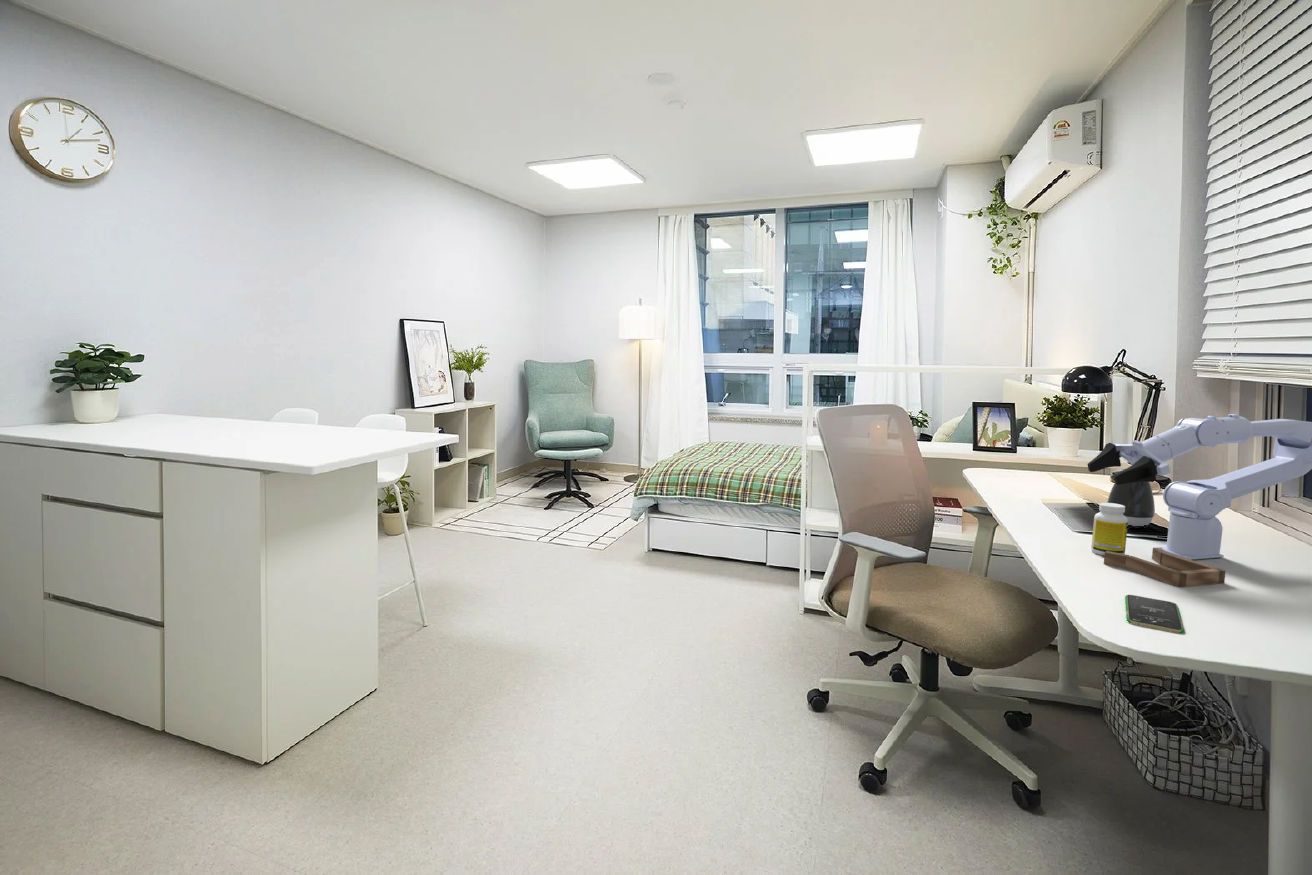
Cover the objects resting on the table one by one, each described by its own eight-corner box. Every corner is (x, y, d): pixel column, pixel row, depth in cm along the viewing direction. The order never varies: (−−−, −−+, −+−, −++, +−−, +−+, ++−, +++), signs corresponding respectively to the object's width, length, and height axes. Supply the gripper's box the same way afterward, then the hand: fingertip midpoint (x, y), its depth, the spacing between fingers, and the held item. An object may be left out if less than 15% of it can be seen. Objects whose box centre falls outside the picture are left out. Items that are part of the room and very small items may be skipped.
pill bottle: (1130, 558, 144) (1135, 508, 142) (1098, 556, 145) (1103, 507, 143) (1116, 550, 150) (1121, 502, 148) (1086, 548, 151) (1090, 501, 149)
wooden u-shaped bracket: (1156, 558, 144) (1157, 547, 144) (1231, 582, 129) (1233, 569, 129) (1100, 562, 140) (1101, 551, 140) (1171, 587, 126) (1172, 575, 125)
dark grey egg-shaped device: (1117, 530, 166) (1123, 471, 164) (1097, 520, 176) (1102, 464, 174) (1162, 532, 164) (1168, 472, 162) (1139, 522, 175) (1145, 465, 173)
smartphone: (1177, 602, 117) (1185, 631, 105) (1176, 607, 117) (1184, 636, 105) (1125, 593, 121) (1126, 619, 109) (1124, 598, 121) (1126, 625, 109)
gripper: (1130, 423, 149) (1074, 447, 149) (1187, 443, 136) (1125, 470, 136) (1135, 450, 152) (1080, 474, 152) (1191, 472, 138) (1131, 498, 138)
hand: (1102, 474), depth 144 cm, fingers open, 7 cm apart
